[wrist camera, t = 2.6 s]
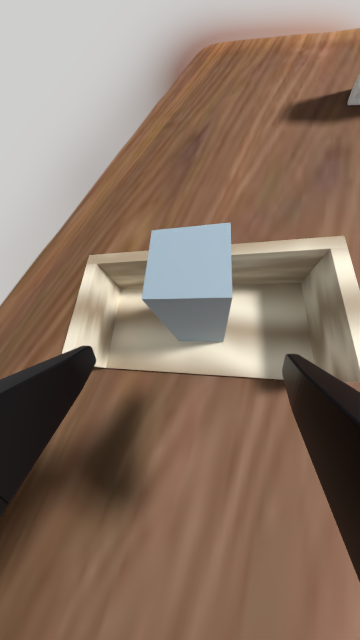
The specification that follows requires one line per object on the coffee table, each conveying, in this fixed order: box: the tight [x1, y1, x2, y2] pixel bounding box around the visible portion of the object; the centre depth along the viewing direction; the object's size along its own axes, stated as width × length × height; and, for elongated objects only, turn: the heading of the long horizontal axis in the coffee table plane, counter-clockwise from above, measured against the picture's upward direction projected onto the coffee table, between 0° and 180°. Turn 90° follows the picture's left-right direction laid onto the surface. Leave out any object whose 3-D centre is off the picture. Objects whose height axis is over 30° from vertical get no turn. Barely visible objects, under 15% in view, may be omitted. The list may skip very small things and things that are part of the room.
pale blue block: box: [142, 223, 232, 342], centre depth 16 cm, size 5×5×11 cm
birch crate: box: [62, 236, 360, 383], centre depth 18 cm, size 12×24×6 cm, turn 86°
